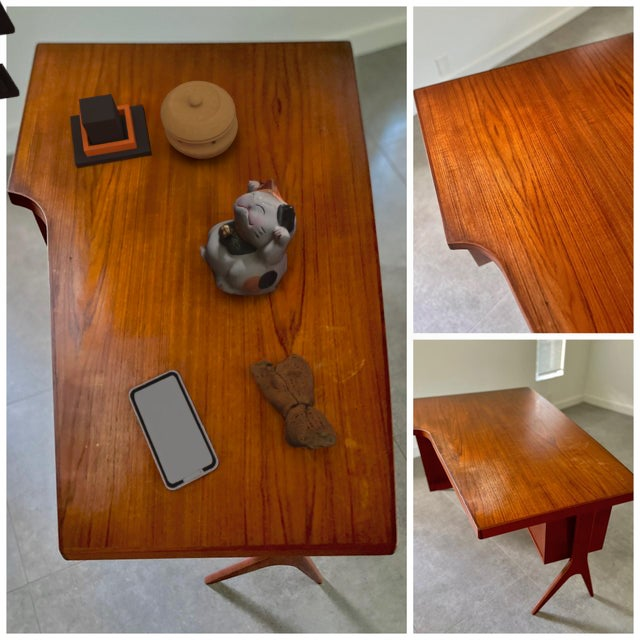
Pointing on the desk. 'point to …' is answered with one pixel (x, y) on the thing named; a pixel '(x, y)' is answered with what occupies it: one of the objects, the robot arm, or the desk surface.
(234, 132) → the pot
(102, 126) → the dark grey cube
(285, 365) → the sculpture
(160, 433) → the smartphone
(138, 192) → the desk surface
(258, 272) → the lucky cat figurine
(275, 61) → the desk surface
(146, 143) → the base pad
